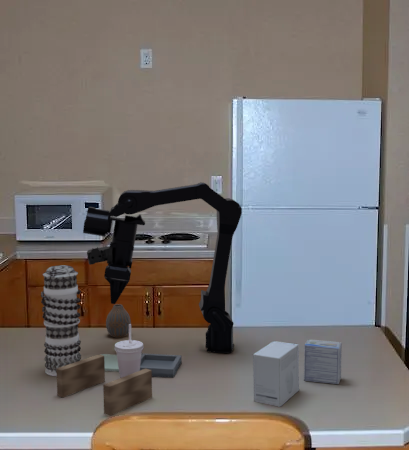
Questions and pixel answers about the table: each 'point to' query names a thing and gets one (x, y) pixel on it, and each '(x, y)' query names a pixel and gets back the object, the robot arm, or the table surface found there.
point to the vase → (118, 321)
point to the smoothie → (128, 355)
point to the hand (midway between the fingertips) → (113, 299)
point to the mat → (110, 362)
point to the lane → (113, 391)
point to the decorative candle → (61, 317)
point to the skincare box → (276, 373)
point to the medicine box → (322, 361)
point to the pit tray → (161, 364)
